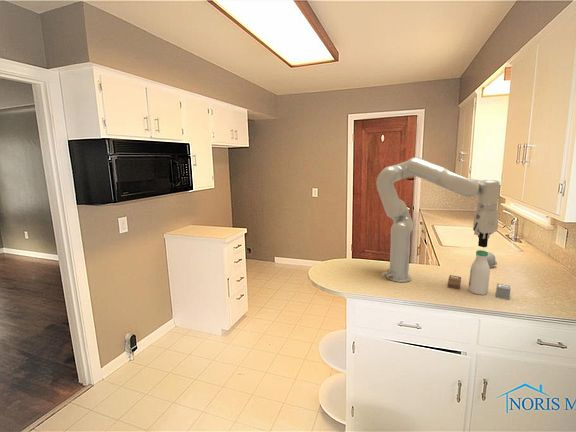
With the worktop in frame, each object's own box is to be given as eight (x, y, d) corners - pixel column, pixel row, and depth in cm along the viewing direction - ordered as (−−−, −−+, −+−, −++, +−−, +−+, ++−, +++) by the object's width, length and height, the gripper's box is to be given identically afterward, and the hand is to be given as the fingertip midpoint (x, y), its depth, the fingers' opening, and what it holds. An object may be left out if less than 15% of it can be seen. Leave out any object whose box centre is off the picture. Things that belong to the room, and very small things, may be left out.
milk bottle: (491, 293, 140) (496, 253, 136) (478, 296, 138) (483, 254, 134) (476, 287, 147) (481, 248, 144) (464, 289, 145) (468, 249, 141)
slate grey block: (509, 300, 134) (510, 289, 133) (495, 297, 137) (496, 286, 136) (508, 295, 138) (510, 285, 137) (495, 293, 141) (497, 283, 140)
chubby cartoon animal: (473, 270, 177) (470, 258, 174) (488, 260, 179) (485, 248, 177) (485, 274, 170) (482, 261, 167) (499, 264, 173) (497, 251, 170)
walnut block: (459, 290, 145) (460, 280, 144) (447, 287, 148) (448, 277, 147) (460, 286, 149) (461, 276, 148) (449, 284, 152) (449, 274, 151)
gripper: (482, 209, 129) (477, 250, 133) (507, 207, 134) (502, 247, 137) (467, 207, 136) (463, 246, 140) (491, 205, 141) (486, 242, 144)
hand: (482, 246), depth 138 cm, fingers closed
